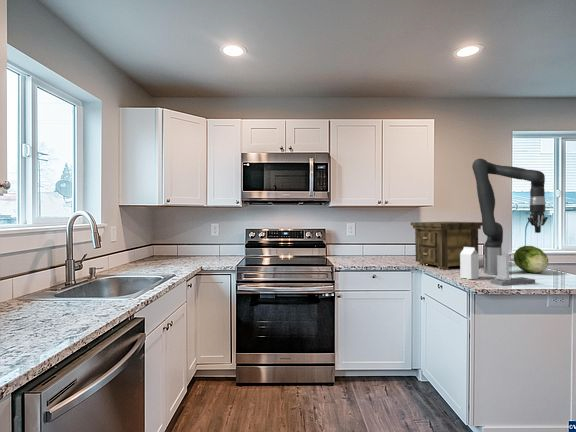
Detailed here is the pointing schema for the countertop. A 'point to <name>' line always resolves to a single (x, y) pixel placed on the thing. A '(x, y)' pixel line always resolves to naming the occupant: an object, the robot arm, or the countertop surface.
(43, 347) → the countertop surface
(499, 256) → the fader tab
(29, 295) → the countertop surface
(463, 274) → the milk carton
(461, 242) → the wooden drawer cabinet
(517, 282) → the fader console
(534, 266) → the lettuce
